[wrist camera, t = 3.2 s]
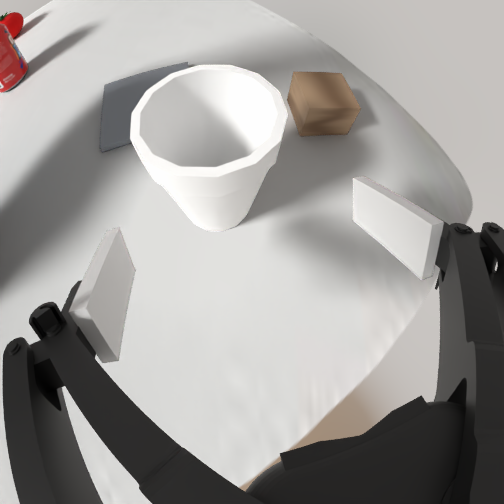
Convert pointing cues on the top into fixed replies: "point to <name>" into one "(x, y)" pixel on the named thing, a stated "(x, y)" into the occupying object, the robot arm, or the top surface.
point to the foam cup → (210, 139)
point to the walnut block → (322, 103)
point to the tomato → (12, 23)
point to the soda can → (10, 61)
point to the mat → (127, 104)
